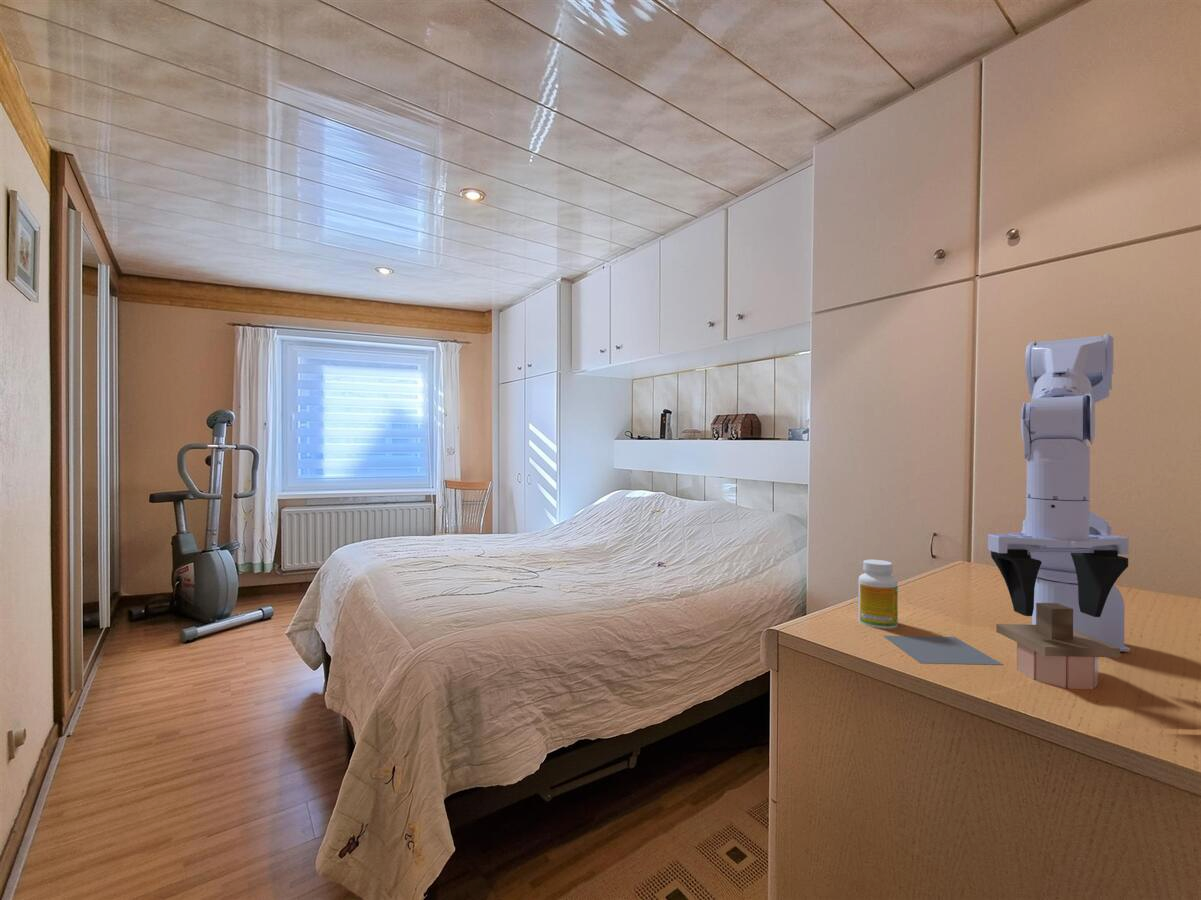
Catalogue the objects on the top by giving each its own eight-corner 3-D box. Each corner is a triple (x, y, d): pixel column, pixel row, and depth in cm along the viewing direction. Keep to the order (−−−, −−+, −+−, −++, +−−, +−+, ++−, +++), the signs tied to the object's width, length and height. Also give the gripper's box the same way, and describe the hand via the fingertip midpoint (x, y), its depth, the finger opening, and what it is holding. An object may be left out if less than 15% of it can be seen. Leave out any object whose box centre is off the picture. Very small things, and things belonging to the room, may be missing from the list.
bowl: (1063, 667, 68) (1063, 635, 68) (1113, 692, 61) (1113, 656, 61) (1004, 666, 68) (1005, 634, 68) (1048, 691, 61) (1048, 655, 61)
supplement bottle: (902, 632, 81) (903, 566, 81) (863, 629, 82) (863, 564, 82) (891, 620, 86) (891, 559, 86) (854, 618, 87) (854, 557, 87)
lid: (1062, 633, 68) (1062, 597, 68) (1120, 657, 60) (1120, 616, 60) (996, 631, 69) (996, 596, 69) (1045, 656, 61) (1045, 615, 61)
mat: (954, 639, 77) (954, 636, 77) (1003, 667, 68) (1003, 664, 68) (882, 638, 78) (882, 635, 78) (920, 666, 68) (920, 662, 68)
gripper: (1017, 501, 61) (1017, 624, 61) (1154, 502, 60) (1153, 626, 60) (976, 496, 68) (976, 605, 68) (1098, 496, 67) (1098, 607, 67)
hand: (1056, 614), depth 64 cm, fingers open, 7 cm apart
